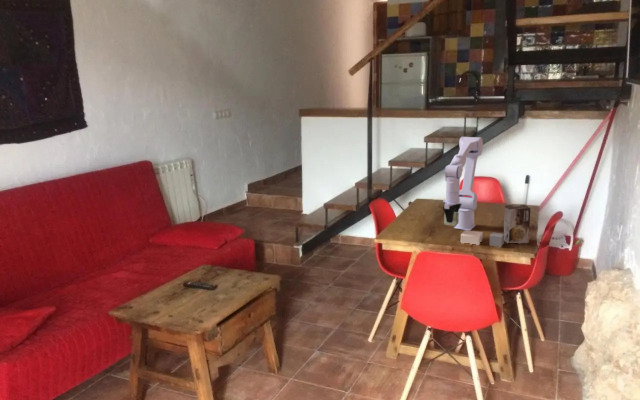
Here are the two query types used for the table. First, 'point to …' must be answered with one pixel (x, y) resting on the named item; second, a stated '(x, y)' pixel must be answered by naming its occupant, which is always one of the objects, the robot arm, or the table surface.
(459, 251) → the table surface
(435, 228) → the table surface
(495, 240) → the grey cube
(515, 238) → the coffee box
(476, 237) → the cream base block
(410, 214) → the table surface
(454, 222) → the green cube
